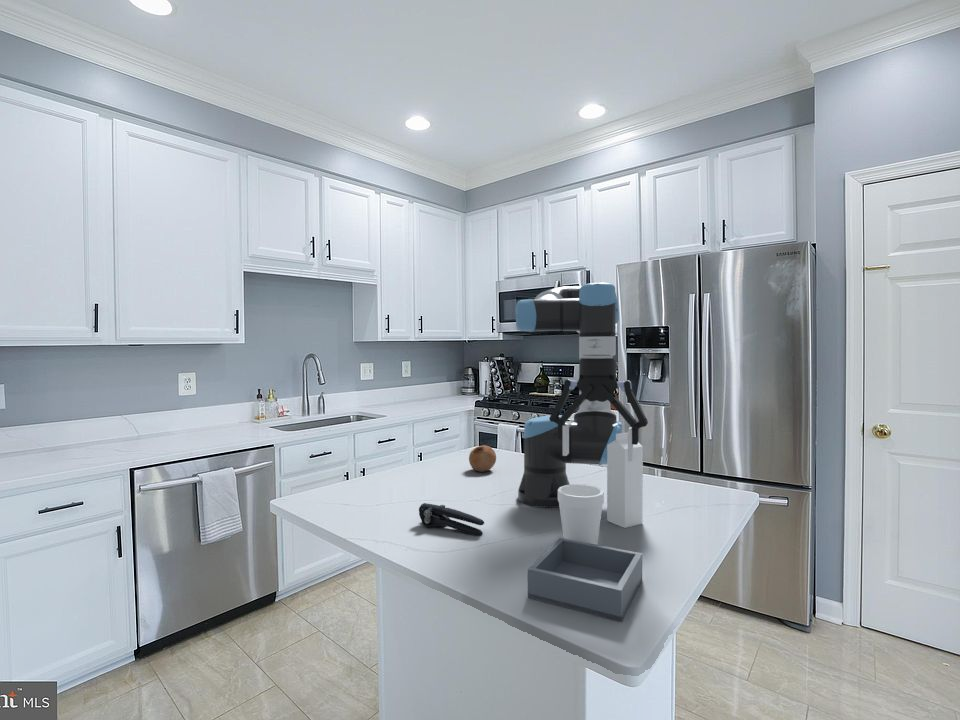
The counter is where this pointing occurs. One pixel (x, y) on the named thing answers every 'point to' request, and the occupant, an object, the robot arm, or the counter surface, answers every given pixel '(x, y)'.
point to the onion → (482, 458)
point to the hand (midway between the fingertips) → (597, 457)
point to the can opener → (440, 517)
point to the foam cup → (580, 512)
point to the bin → (586, 578)
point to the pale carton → (624, 483)
